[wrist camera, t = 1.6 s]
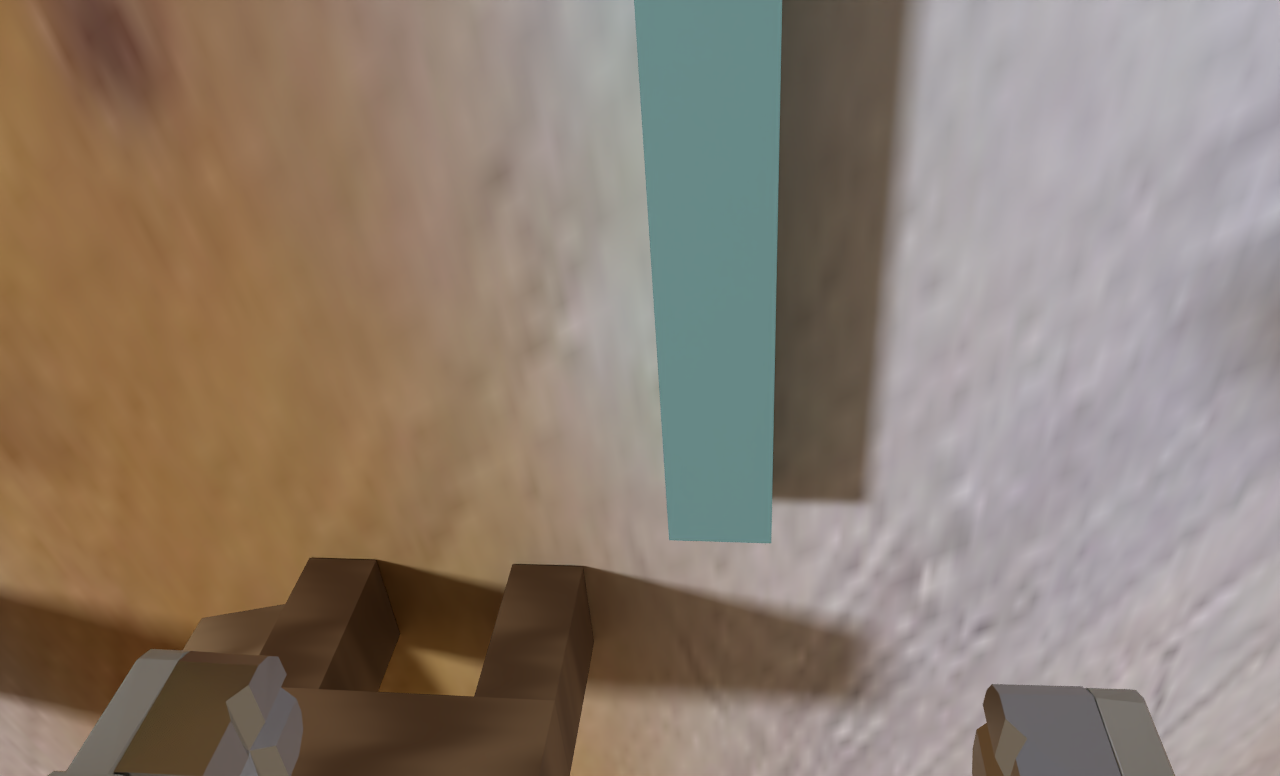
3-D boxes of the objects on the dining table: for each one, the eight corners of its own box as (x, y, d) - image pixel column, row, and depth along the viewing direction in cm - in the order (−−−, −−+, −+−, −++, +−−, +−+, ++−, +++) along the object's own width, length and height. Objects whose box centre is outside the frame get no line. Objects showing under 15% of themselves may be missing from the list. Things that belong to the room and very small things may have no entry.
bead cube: (289, 602, 37) (243, 690, 34) (340, 668, 39) (301, 757, 36) (203, 616, 38) (150, 703, 35) (257, 680, 40) (212, 767, 37)
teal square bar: (788, -421, 18) (791, -435, 16) (771, 475, 31) (771, 543, 29) (628, -405, 18) (607, -418, 16) (676, 473, 31) (669, 540, 29)
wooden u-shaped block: (582, 566, 34) (531, 809, 27) (594, 642, 36) (549, 884, 29) (309, 557, 35) (190, 787, 28) (337, 631, 37) (234, 860, 30)
